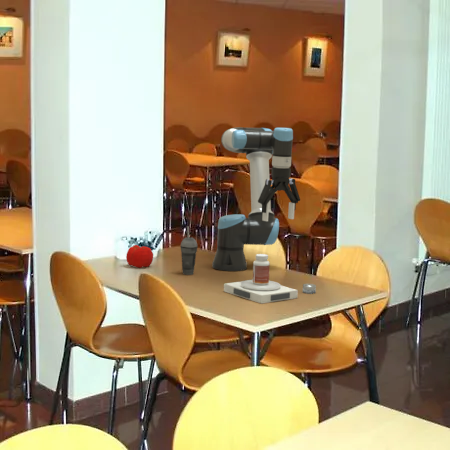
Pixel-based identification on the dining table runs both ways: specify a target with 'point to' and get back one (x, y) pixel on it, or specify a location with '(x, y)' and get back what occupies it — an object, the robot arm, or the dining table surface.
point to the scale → (260, 291)
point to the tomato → (139, 256)
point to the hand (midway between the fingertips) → (278, 219)
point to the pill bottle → (261, 270)
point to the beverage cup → (188, 254)
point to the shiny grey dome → (309, 288)
